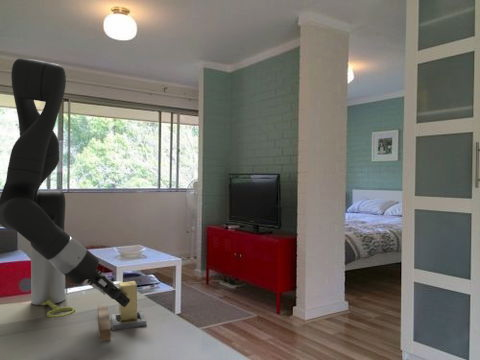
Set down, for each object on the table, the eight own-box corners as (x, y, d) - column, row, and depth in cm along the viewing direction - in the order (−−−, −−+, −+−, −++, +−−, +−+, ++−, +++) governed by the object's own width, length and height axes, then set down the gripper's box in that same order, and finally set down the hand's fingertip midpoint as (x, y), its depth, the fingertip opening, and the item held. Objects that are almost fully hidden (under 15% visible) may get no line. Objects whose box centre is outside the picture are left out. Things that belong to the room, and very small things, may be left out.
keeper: (111, 319, 106) (111, 314, 106) (142, 315, 109) (142, 310, 109) (112, 329, 98) (112, 324, 98) (146, 325, 101) (146, 320, 101)
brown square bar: (98, 315, 109) (98, 306, 109) (107, 314, 109) (107, 305, 109) (99, 341, 92) (99, 330, 92) (110, 339, 93) (110, 328, 92)
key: (48, 306, 118) (48, 299, 118) (78, 313, 112) (78, 305, 112) (26, 314, 112) (26, 306, 112) (56, 321, 106) (56, 313, 106)
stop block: (119, 321, 105) (118, 282, 104) (134, 318, 106) (134, 281, 106) (120, 326, 101) (120, 286, 101) (137, 324, 102) (136, 284, 102)
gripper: (93, 251, 91) (142, 293, 98) (77, 243, 103) (121, 281, 110) (69, 278, 88) (120, 320, 95) (54, 267, 100) (102, 304, 107)
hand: (121, 299), depth 102 cm, fingers open, 8 cm apart
